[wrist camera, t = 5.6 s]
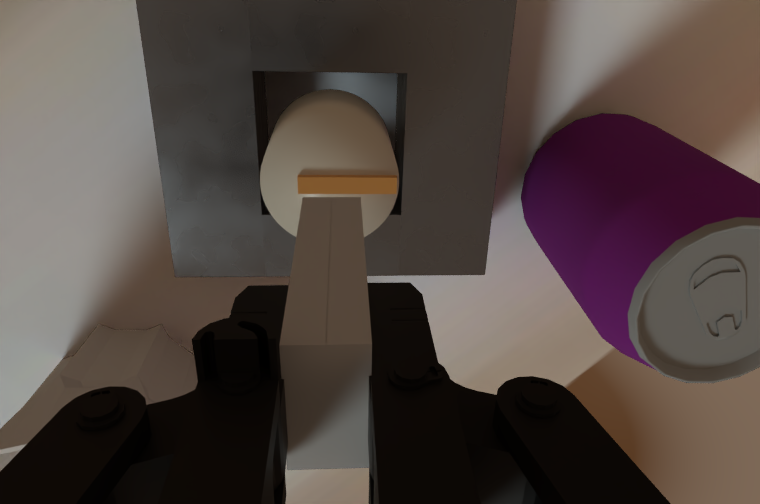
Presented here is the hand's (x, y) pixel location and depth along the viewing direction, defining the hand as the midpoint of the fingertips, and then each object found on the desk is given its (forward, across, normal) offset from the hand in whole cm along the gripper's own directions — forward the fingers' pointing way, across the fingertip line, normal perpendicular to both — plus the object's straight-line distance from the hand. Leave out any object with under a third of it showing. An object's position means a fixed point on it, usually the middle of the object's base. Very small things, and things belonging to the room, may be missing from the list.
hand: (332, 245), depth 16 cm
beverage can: (+14, +13, -3) cm, 19 cm away
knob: (+10, 0, 0) cm, 10 cm away
